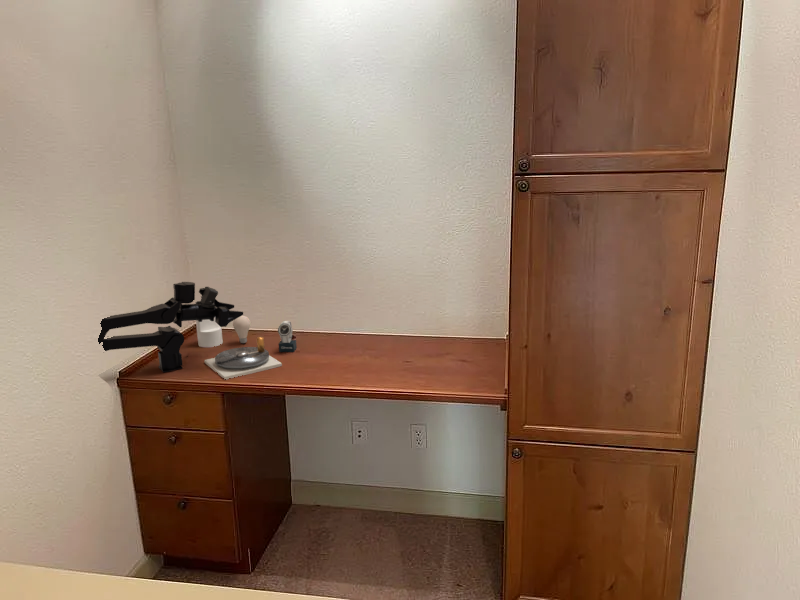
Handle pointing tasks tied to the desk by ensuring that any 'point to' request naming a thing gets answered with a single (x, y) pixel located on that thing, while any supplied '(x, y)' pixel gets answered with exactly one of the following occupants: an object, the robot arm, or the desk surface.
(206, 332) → the base with upright slab
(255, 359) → the handwheel
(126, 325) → the robot arm
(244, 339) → the light bulb
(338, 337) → the desk surface
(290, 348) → the watch
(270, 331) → the desk surface
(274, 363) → the wheel base
